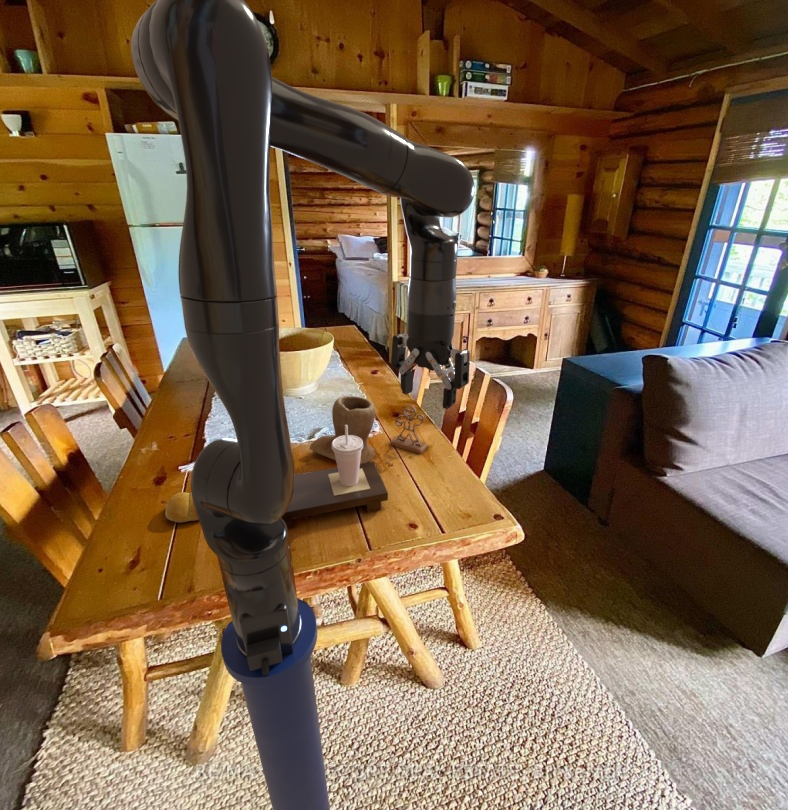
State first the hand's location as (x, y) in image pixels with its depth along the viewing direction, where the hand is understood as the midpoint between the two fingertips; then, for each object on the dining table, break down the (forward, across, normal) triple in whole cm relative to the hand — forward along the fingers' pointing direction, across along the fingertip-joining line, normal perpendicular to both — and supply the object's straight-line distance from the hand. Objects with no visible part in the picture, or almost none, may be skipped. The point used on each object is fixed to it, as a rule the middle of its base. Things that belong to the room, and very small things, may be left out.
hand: (427, 399), depth 76 cm
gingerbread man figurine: (+28, -20, +22) cm, 41 cm away
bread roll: (+28, -40, -26) cm, 55 cm away
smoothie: (+24, -17, -3) cm, 30 cm away
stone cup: (+28, -30, +9) cm, 42 cm away
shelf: (+28, -20, -7) cm, 35 cm away
